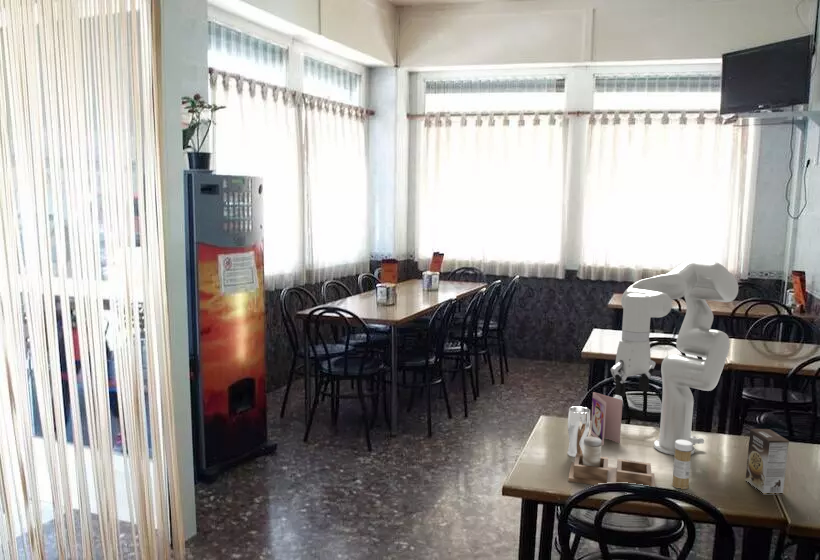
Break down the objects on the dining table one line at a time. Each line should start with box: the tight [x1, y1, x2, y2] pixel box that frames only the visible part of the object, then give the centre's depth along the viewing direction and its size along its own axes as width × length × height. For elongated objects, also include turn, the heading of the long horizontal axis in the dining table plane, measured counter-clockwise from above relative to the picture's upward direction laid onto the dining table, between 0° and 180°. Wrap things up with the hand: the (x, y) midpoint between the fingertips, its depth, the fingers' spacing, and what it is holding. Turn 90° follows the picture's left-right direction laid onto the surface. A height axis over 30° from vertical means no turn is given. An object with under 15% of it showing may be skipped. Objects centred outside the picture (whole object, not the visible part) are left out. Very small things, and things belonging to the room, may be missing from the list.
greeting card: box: [590, 391, 624, 447], centre depth 227 cm, size 11×7×15 cm, turn 6°
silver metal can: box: [567, 405, 591, 459], centre depth 214 cm, size 7×7×15 cm
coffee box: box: [745, 428, 790, 494], centre depth 193 cm, size 9×6×16 cm
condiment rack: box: [567, 436, 656, 486], centre depth 197 cm, size 24×12×11 cm, turn 72°
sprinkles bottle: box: [671, 440, 692, 490], centre depth 192 cm, size 5×5×13 cm
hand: (631, 392), depth 197 cm, fingers open, 9 cm apart
